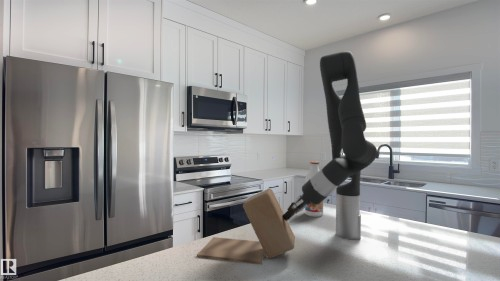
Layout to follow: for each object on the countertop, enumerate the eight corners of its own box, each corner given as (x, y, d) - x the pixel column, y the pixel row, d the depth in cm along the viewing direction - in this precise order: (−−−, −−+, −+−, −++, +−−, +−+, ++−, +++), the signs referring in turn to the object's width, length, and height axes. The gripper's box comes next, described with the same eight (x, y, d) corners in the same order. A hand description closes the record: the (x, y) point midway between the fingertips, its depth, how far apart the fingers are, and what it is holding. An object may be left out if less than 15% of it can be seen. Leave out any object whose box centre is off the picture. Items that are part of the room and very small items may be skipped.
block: (295, 249, 84) (267, 192, 85) (267, 260, 85) (241, 204, 87) (296, 237, 93) (271, 187, 95) (271, 248, 95) (247, 198, 97)
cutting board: (268, 244, 98) (268, 242, 98) (261, 264, 83) (261, 261, 83) (213, 239, 103) (213, 237, 103) (196, 256, 88) (196, 254, 88)
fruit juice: (326, 216, 135) (326, 162, 135) (309, 217, 133) (309, 162, 133) (318, 211, 144) (318, 160, 144) (302, 212, 142) (302, 161, 142)
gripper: (319, 174, 89) (286, 205, 96) (304, 179, 78) (268, 213, 85) (334, 192, 86) (299, 222, 93) (321, 200, 75) (282, 233, 82)
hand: (284, 218), depth 89 cm, fingers closed
